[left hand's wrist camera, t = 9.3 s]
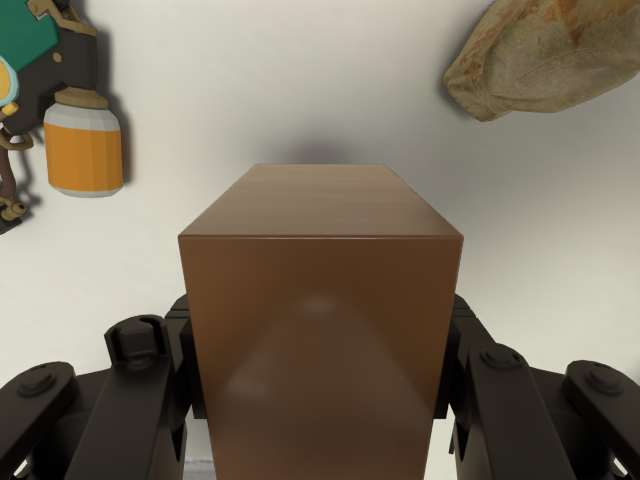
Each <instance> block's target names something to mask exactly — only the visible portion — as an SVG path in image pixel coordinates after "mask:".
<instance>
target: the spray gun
mask: <svg viewBox="0 0 640 480" xmlns="http://www.w3.org/2000/svg"><path fill="white" fill-rule="evenodd" d="M70 17H71V19H72V20H73V21H70V20H67V19H68V18H70ZM73 30H74V31H75V32H73ZM96 37H97V29H95V28H94V27H91V26H88V25H85V24H83V23H82V21H81V20H80V18H79V17H78V15H77V13H76V12H75V10H74V9H73V7H72V5H71V4H70V2H69V0H0V123H1V122H2V123H3V126H4V127H3V128H2V129H1V130H0V175H1V178H2V180H3V187H0V235H1V234H4V233H6V232H7V231H9V230H11V229H12V228H14V227H16V226H18V225H19V224H21V223H22V221H21V220H20V218H19V216H21V215H23V214H24V213H25V211H26V210H27V207H26V205H24V204H23V203H15V202H14V201H13V200H12V198H13V197H14V195H13V194H14V192H15V190H16V182H15V178H14V175H13V172H12V170H11V167H10V162H9V158H8V150H26V149H29V148H32V147H33V146H34V145H33V139H32V138H31V136H30V135H29V134H28V131H30V130H31V129H33V128H34V127H36V126H37V125H39V124H40V123H42V122H43V121H44V133H45V145H46V156H47V168H48V180H49V184H50V185H51V186H52V187H53V188H55V189H56V190H58V191H60V192H61V193H63V194H65V195H68V196H72V197H80V198H100V197H108V196H112V195H114V194H115V193H116V192H118V191H119V190H120V189H121V188H122V187H123V177H122V154H121V130H120V127H119V123H118V120H117V118H116V117H115V116H114V115H113V114H112V113H111V112H110V111H109V110H108V109H107V108H108V100H107V99H105V98H104V97H102V96H100V95H99V94H98V93H97V92H96V91H94V90H95V87H96V73H97V39H96ZM65 85H67V86H69V87H68V88H66V89H64V90H61V91H59V90H60V89H62V88H63V87H64V86H65ZM54 94H55V101H57V102H56V103H55V104H54V105H53V106H51V107H50V108H49V105H50V100H51V96H52V95H54ZM17 135H20V136H21V137H22V138H23V140H24V141H25V142H24V143H11V142H10V140H11V138H12V137H13V136H17Z"/></svg>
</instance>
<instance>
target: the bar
mask: <svg viewBox="0 0 640 480" xmlns="http://www.w3.org/2000/svg"><path fill="white" fill-rule="evenodd" d="M463 241H464V237H463V235H462V234H461V233H460V232H459V231H458V230H457V229H455V228H454V227H453V226H452V225H451V224H450V223H449V222H448V221H447V220H446V219H444V218H443V217H442V216H441V215H440V214H439V213H438V212H437V211H436V210H435V209H433V208H432V207H431V206H430V205H429V204H428V203H427V202H426V201H425V200H424V199H422V198H421V197H420V196H419V195H418V194H417V193H416V192H415V191H414V190H413V189H412V188H410V187H409V186H408V185H407V184H406V183H405V182H404V181H403V180H402V179H401V178H399V177H398V176H397V175H396V174H395V173H394V172H393V171H392V170H391V169H390V168H388V167H387V166H386V165H385V164H255V165H254V166H253V167H252V168H251V169H250V170H248V171H247V172H246V173H245V174H244V175H243V176H242V177H241V178H240V179H239V180H238V181H237V182H235V183H234V184H233V185H232V186H231V187H230V188H229V189H228V190H227V191H226V192H225V193H224V194H222V195H221V196H220V197H219V198H218V199H217V200H216V201H215V202H214V203H213V204H212V205H211V206H209V207H208V208H207V209H206V210H205V211H204V212H203V213H202V214H201V215H200V216H199V217H198V218H196V219H195V220H194V221H193V222H192V223H191V224H190V225H189V226H188V227H187V228H186V229H185V230H183V231H182V232H181V233H180V234H179V235H178V243H179V249H180V256H181V262H182V268H183V274H184V280H185V287H186V293H187V299H188V305H189V311H190V317H191V324H192V330H193V336H194V342H195V348H196V355H197V361H198V367H199V373H200V379H201V386H202V392H203V398H204V404H205V410H206V417H207V423H208V429H209V435H210V441H211V448H212V454H213V460H214V466H215V472H216V479H217V480H424V474H425V468H426V462H427V456H428V450H429V444H430V438H431V432H432V426H433V420H434V414H435V408H436V402H437V396H438V390H439V384H440V378H441V372H442V366H443V360H444V354H445V348H446V342H447V336H448V330H449V324H450V318H451V312H452V307H453V301H454V295H455V289H456V283H457V277H458V271H459V265H460V259H461V253H462V247H463Z"/></svg>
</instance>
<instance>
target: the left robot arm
mask: <svg viewBox="0 0 640 480" xmlns="http://www.w3.org/2000/svg"><path fill="white" fill-rule="evenodd" d="M104 337H105V341H106V345H107V348H108V352H109V355H110V359H111V363H112V365H111V368H109V369H105V370H102V371H97V372H92V373H88V374H83V375H78V376H76V374H75V371H74V368H73V366H71V365H70V364H69V363H67V362H59V361H57V362H50V363H45V364H41V365H38V366H35V367H32V368H30V369H28V370H26V371H24V372H22V373H20V374H19V375H17V376H16V377H14V378H13V379H12V380H10V381H9V382H8V383H7V384H5V385H4V386H3V387H2V388H1V389H0V480H182V479H183V470H184V460H185V450H186V440H187V427H186V422H185V417H186V415H187V413H188V411H189V408H190V406H191V404H192V409H193V415H194V419H207V417H206V410H205V404H204V398H203V392H202V386H201V379H200V373H199V367H198V361H197V355H196V348H195V342H194V336H193V330H192V324H191V317H190V311H189V305H188V299H187V293H186V294H185V295H183V296H182V297H180V298H179V299H177V301H176V302H175V303H174V305H173V306H172V307H171V309H170V311H169V312H168V313H167V314H166V316H165V318H164V319H163V318H162V317H161V316H157V315H153V314H151V315H139V316H134V317H130V318H128V319H125V320H123V321H120V322H118V323H117V324H115V325H114V326H112V327H111V328H109V330H108V331H107V332H106V333H105V334H104ZM449 403H450V406H451V408H452V410H453V413H454V415H455V422H454V427H453V432H452V437H451V442H450V448H449V454H453V453H454V449H455V459H456V469H457V478H458V480H640V387H639V386H638V385H637V384H636V383H635V382H634V381H633V380H631V379H630V378H629V377H627V376H626V375H624V374H623V373H622V372H620V371H618V370H616V369H614V368H612V367H610V366H607V365H605V364H601V363H598V362H594V361H587V360H579V361H573V362H572V363H570V364H569V365H568V366H567V369H566V372H565V375H564V374H559V373H555V372H550V371H545V370H541V369H537V368H533V367H529V365H528V363H527V362H526V360H525V359H524V357H523V356H522V355H520V354H519V353H518V352H516V351H515V350H514V349H512V348H510V347H507V346H505V345H503V344H499V343H496V342H495V341H494V339H493V338H492V337H491V335H490V334H489V333H488V331H487V330H486V329H485V327H484V326H483V325H482V323H481V322H480V321H479V319H478V318H476V315H475V314H474V312H473V311H472V310H470V307H469V306H468V304H467V303H466V302H465V300H464V299H463V298H462V297H460V296H459V295H457V294H456V293H455V295H454V301H453V307H452V312H451V318H450V324H449V330H448V336H447V342H446V348H445V354H444V360H443V366H442V372H441V378H440V384H439V390H438V396H437V402H436V408H435V414H434V419H446V416H447V411H448V405H449ZM615 458H617V460H618V461H619V462H620V463H621V465H622V466H623V467H624V468H625V469H626V471H627V472H628V473H627V475H625V474H624V473H623V472H622V471H621V470H620V469H619V468H618V467H617V466H616V464H615V463H614V460H615ZM25 459H26V461H27V464H26V466H25V467H24V468H23V469H22V471H21V472H19V473H18V474H17V475H16V476H14V473H15V471H16V470H17V469H18V468H19V466H20V465H21V464H22V463H23V461H24V460H25Z"/></svg>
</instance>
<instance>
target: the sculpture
mask: <svg viewBox="0 0 640 480" xmlns="http://www.w3.org/2000/svg"><path fill="white" fill-rule="evenodd" d="M639 71H640V0H497V1H496V2H495V3H494V4H493V5H492V6H491V7H490V8H489V10H488V11H487V12H486V13H485V15H484V16H483V17H482V19H481V20H480V22H479V23H478V25H477V26H476V28H475V29H474V31H473V33H472V34H471V36H470V38H469V39H468V41H467V43H466V44H465V46H464V48H463V49H462V51H461V53H460V54H459V56H458V57H457V59H456V60H455V61H454V63H453V64H452V66H451V67H450V68H449V69H448V70H447V72H446V73H445V75H444V77H443V83H444V85H445V86H446V87H447V89H448V92H449V94H450V95H451V96H452V97H453V98H454V100H455V101H456V102H457V103H458V104H459V105H460V106H461V107H462V108H463V109H464V110H465V111H467V112H468V113H469V114H470V115H471V116H473V117H474V118H475V119H477V120H479V121H481V122H485V121H492V120H494V119H497V118H499V117H501V116H503V115H505V114H508V113H509V112H511V111H513V110H517V111H526V112H539V113H555V112H559V111H562V110H565V109H568V108H570V107H573V106H575V105H577V104H580V103H582V102H585V101H587V100H589V99H592V98H594V97H596V96H599V95H601V94H603V93H605V92H607V91H609V90H612V89H614V88H616V87H618V86H620V85H622V84H624V83H625V82H627V81H629V80H630V79H632V78H633V77H634V76H635V75H636V74H637V73H638V72H639Z"/></svg>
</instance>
